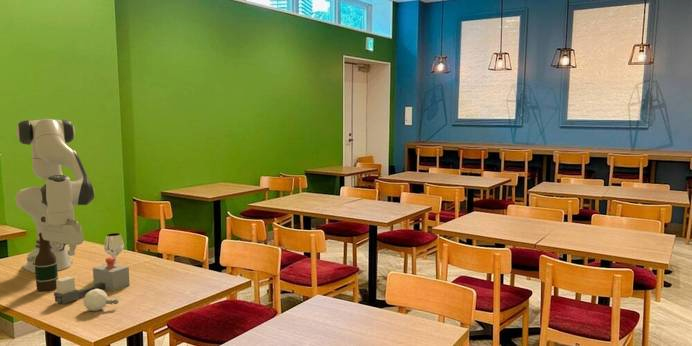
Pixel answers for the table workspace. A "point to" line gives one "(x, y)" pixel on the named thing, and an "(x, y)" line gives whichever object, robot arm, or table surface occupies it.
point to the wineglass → (113, 244)
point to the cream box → (66, 289)
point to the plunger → (110, 262)
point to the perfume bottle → (97, 300)
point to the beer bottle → (45, 267)
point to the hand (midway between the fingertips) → (63, 253)
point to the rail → (85, 291)
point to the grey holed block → (111, 276)
